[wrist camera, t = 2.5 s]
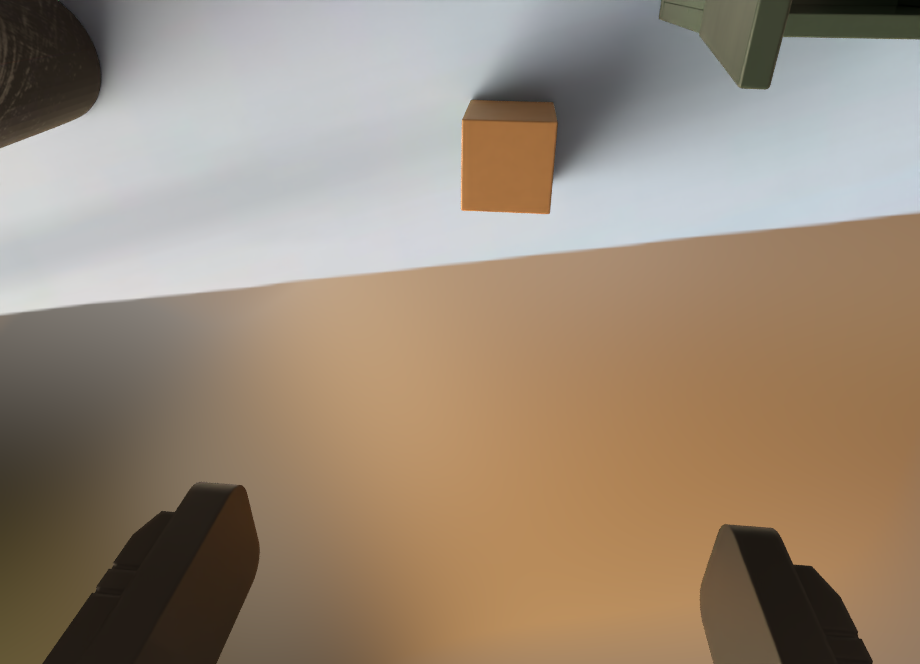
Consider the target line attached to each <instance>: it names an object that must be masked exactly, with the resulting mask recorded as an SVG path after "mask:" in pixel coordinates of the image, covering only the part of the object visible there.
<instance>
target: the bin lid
mask: <svg viewBox="0 0 920 664" xmlns="http://www.w3.org/2000/svg"><path fill="white" fill-rule="evenodd" d="M791 3H792V0H706V1H705V6H704V11H703V16H702V22H701V27H700V32H699V36H700V37H701V38H702V40H703V41H704V42H705V44H706V45H707V46H708V48H709V49H710V50H711V52H712V53H713V54H714V56H715V57H716V58H717V59H718V61H719V62H720V63H721V65H722V66H723V67H724V69H725V70H726V71H727V73H728V74H729V75H730V76H731V78H732V79H733V80H734V82H735V83H736V84H737V86H738V87H739V88H744V89H764V90H765V89H768V88H769V87H770V85H771V81H772V77H773V73H774V69H775V65H776V61H777V58H778V54H779V50H780V46H781V42H782V38H783V34H784V30H785V26H786V23H787V19H788V15H789V11H790V7H791Z"/></svg>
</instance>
